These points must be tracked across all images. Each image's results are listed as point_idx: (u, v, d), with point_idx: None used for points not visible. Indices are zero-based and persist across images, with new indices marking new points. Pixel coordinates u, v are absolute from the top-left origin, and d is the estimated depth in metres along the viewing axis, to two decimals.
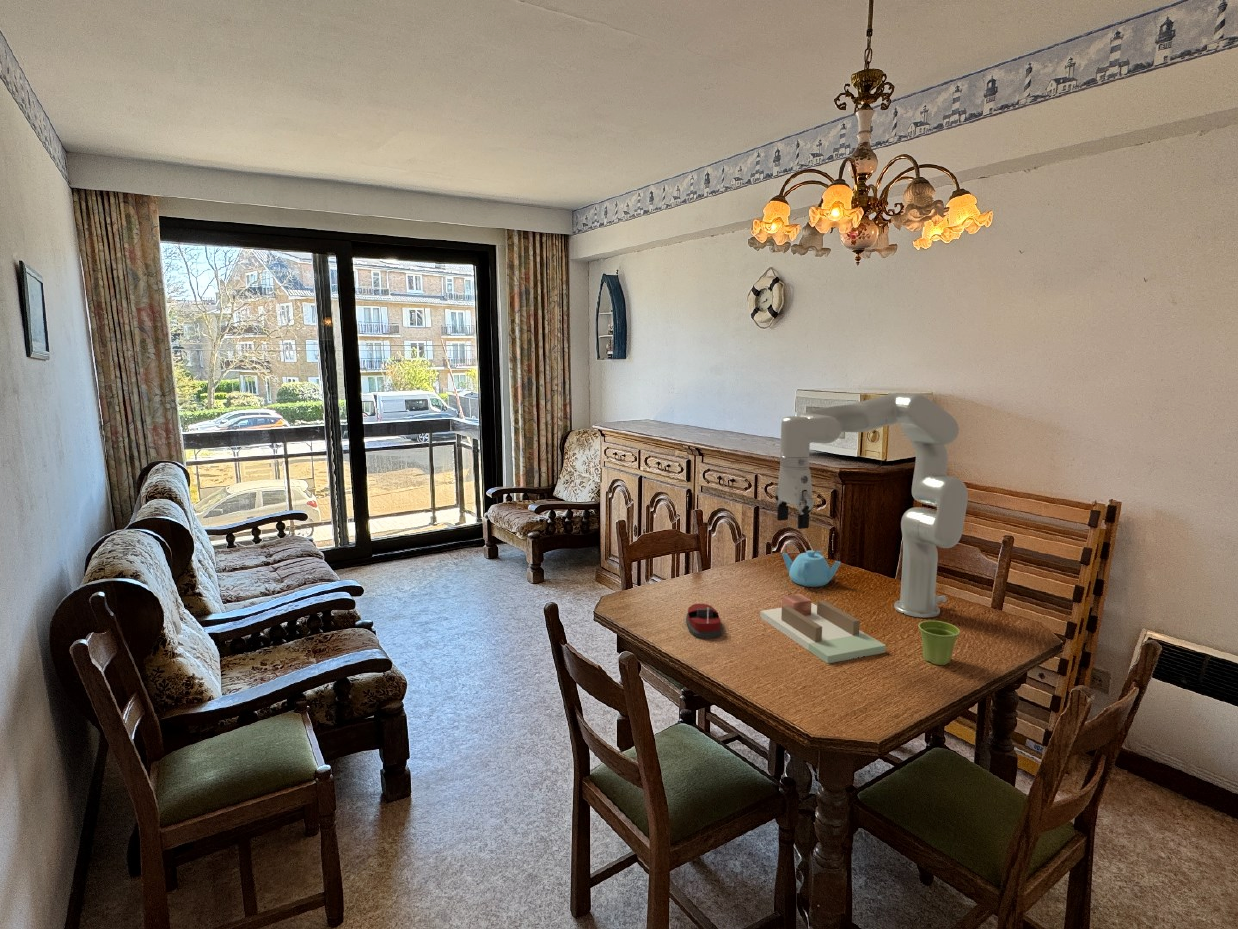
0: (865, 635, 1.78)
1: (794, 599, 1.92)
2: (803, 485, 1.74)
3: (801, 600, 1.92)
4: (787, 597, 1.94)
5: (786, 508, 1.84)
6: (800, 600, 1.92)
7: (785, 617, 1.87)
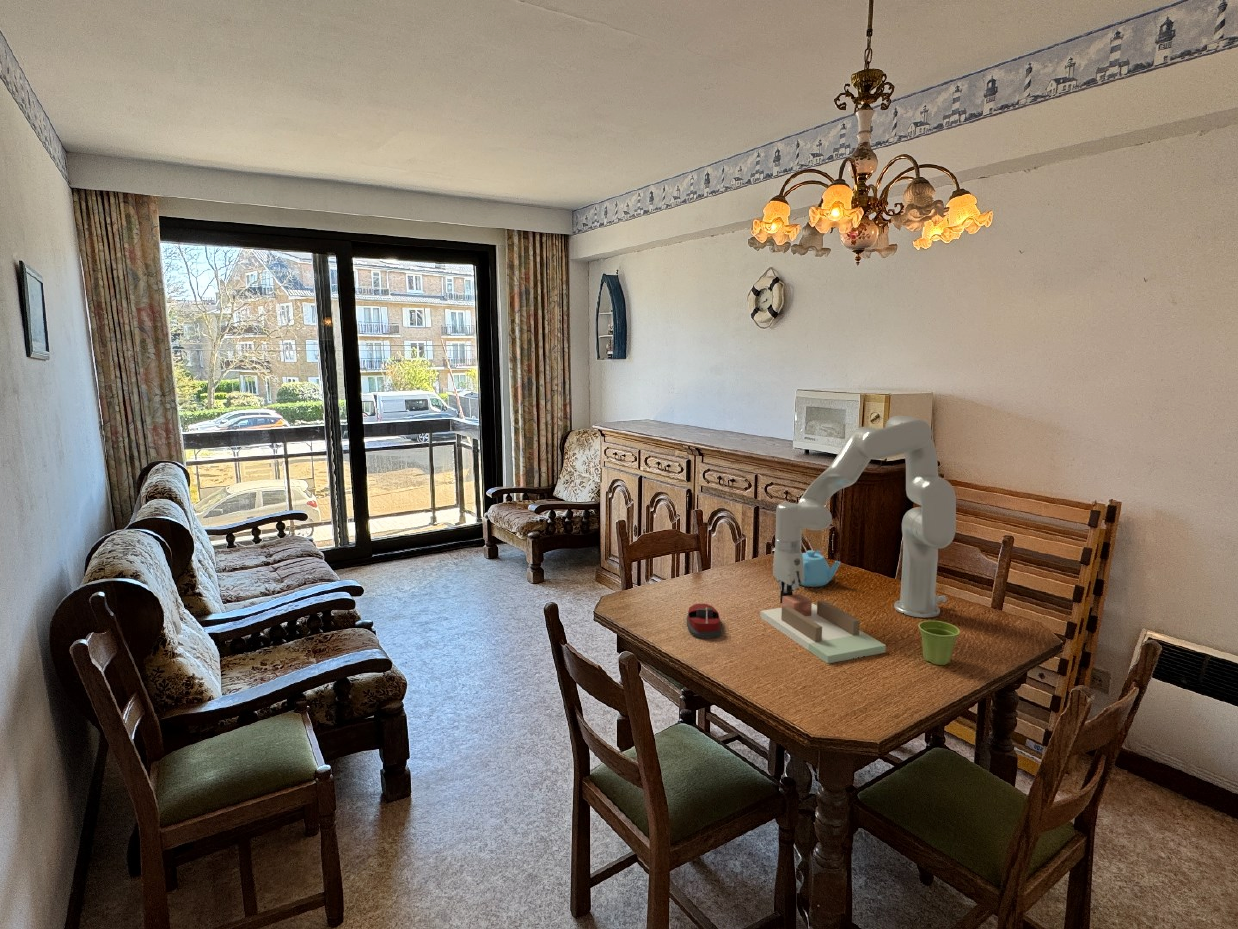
0: (865, 635, 1.78)
1: (794, 599, 1.92)
2: (796, 567, 1.92)
3: (801, 600, 1.91)
4: (787, 597, 1.93)
5: None
6: (800, 600, 1.91)
7: (785, 617, 1.87)
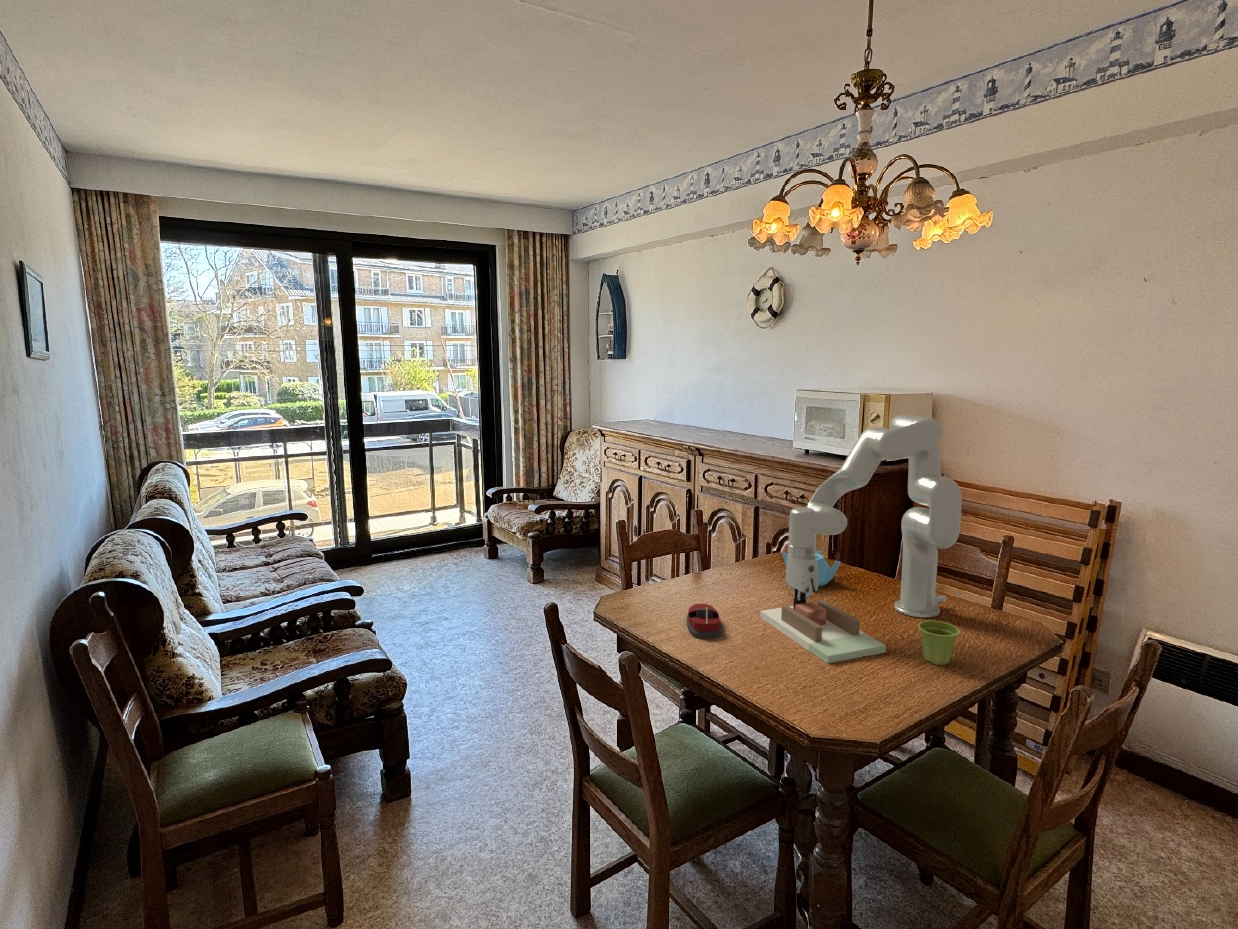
0: (865, 635, 1.78)
1: (808, 608, 1.85)
2: (810, 574, 1.85)
3: (815, 608, 1.85)
4: (800, 606, 1.87)
5: None
6: (814, 609, 1.85)
7: (785, 617, 1.87)
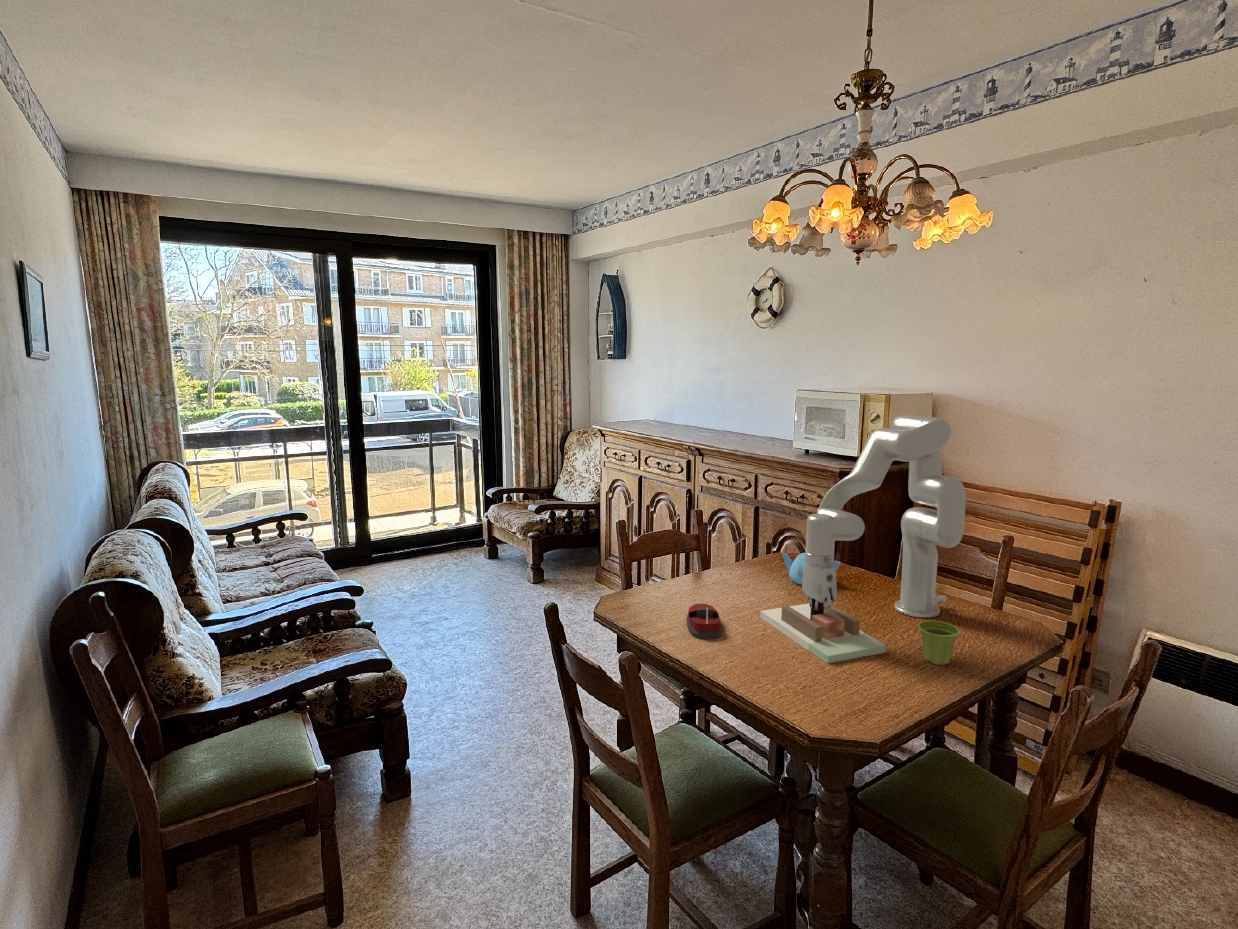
0: (865, 635, 1.78)
1: (825, 619, 1.77)
2: (828, 583, 1.77)
3: (833, 619, 1.77)
4: (817, 616, 1.79)
5: None
6: (831, 619, 1.77)
7: (785, 617, 1.87)
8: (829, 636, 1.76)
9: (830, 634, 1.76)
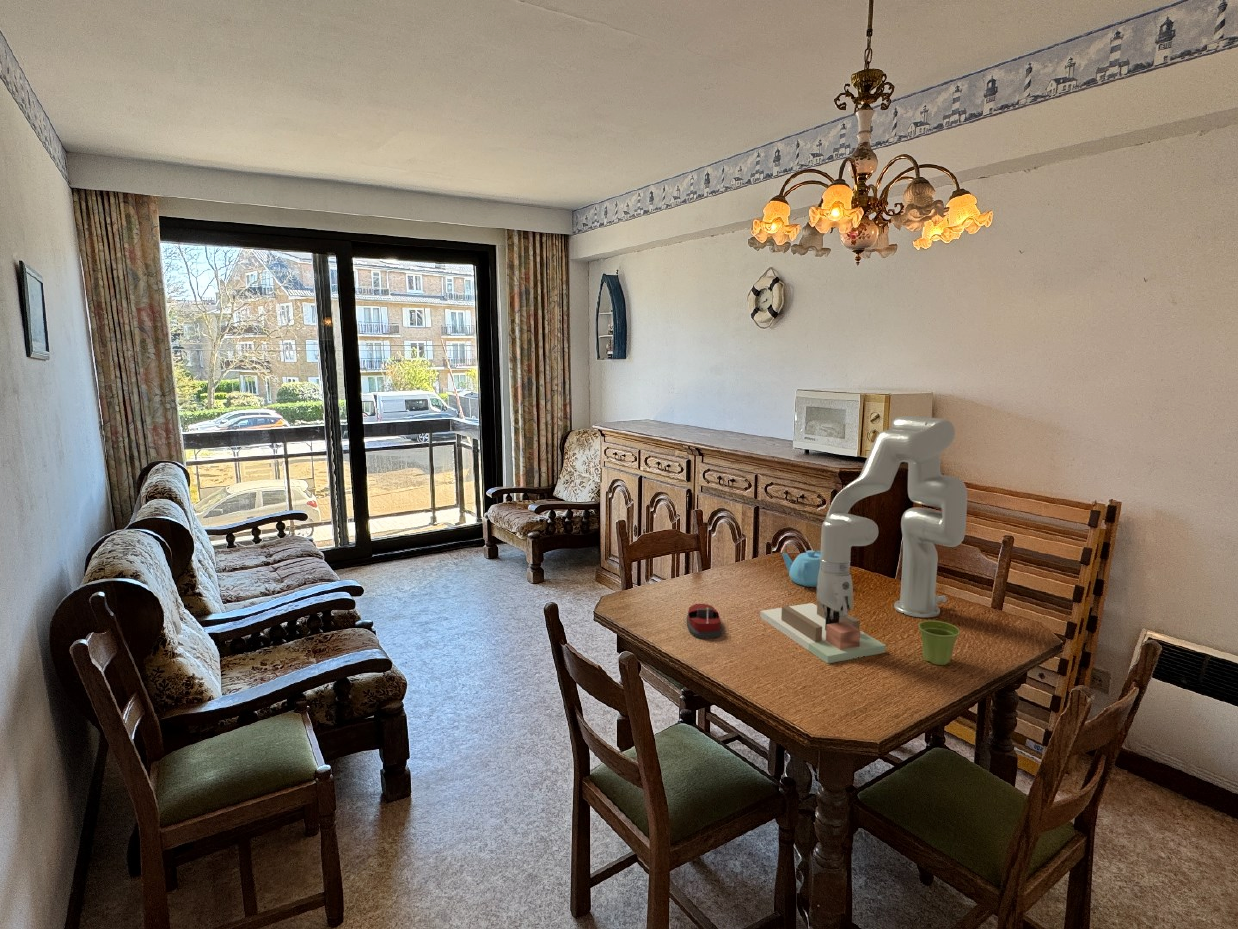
0: (865, 635, 1.78)
1: (840, 628, 1.71)
2: (844, 591, 1.71)
3: (848, 629, 1.71)
4: (832, 626, 1.73)
5: None
6: (847, 629, 1.71)
7: (785, 617, 1.87)
8: (844, 646, 1.69)
9: (845, 645, 1.69)
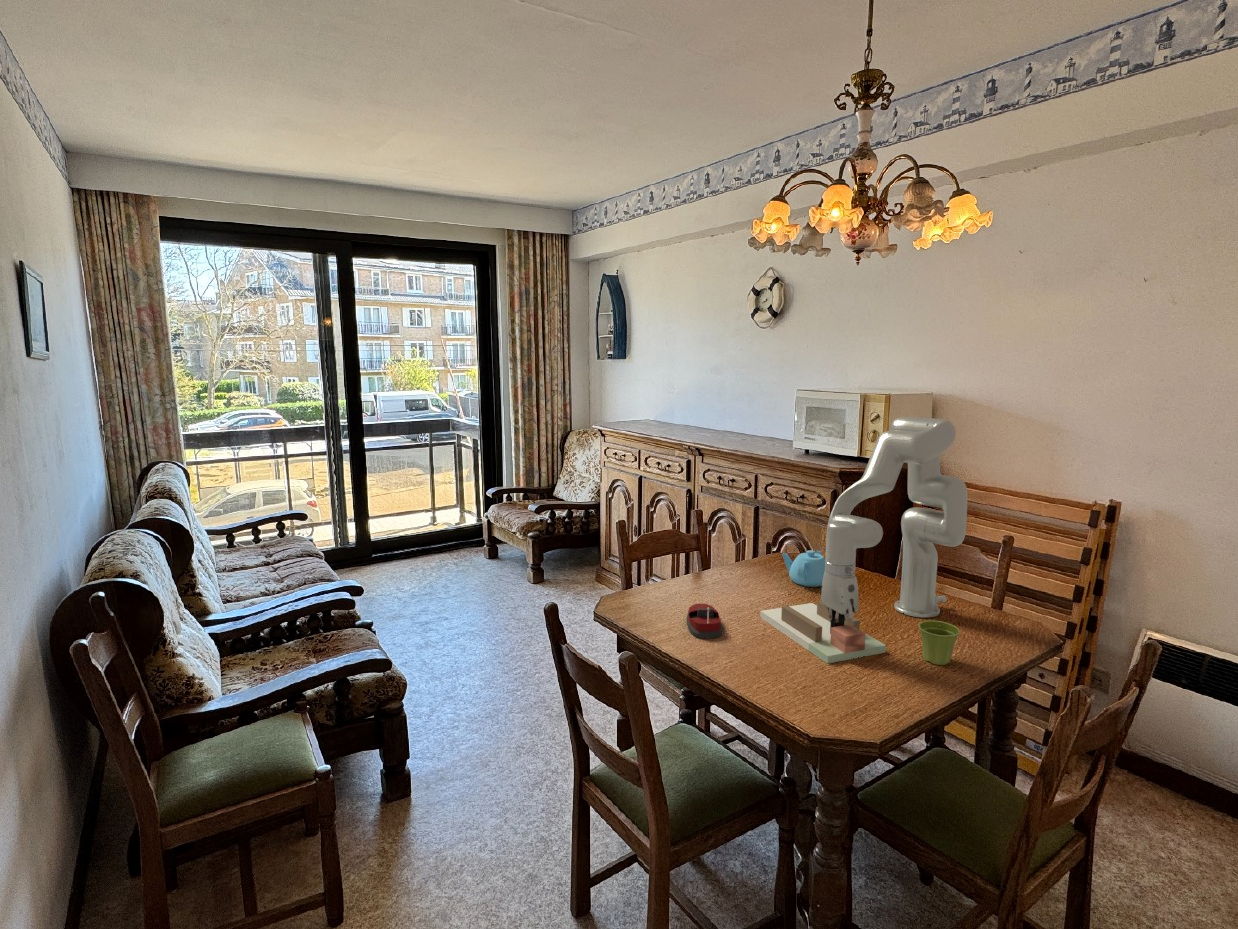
0: (865, 635, 1.78)
1: (845, 632, 1.69)
2: (850, 594, 1.69)
3: (853, 632, 1.69)
4: (837, 629, 1.71)
5: None
6: (852, 632, 1.69)
7: (785, 617, 1.87)
8: (849, 650, 1.67)
9: (849, 648, 1.67)
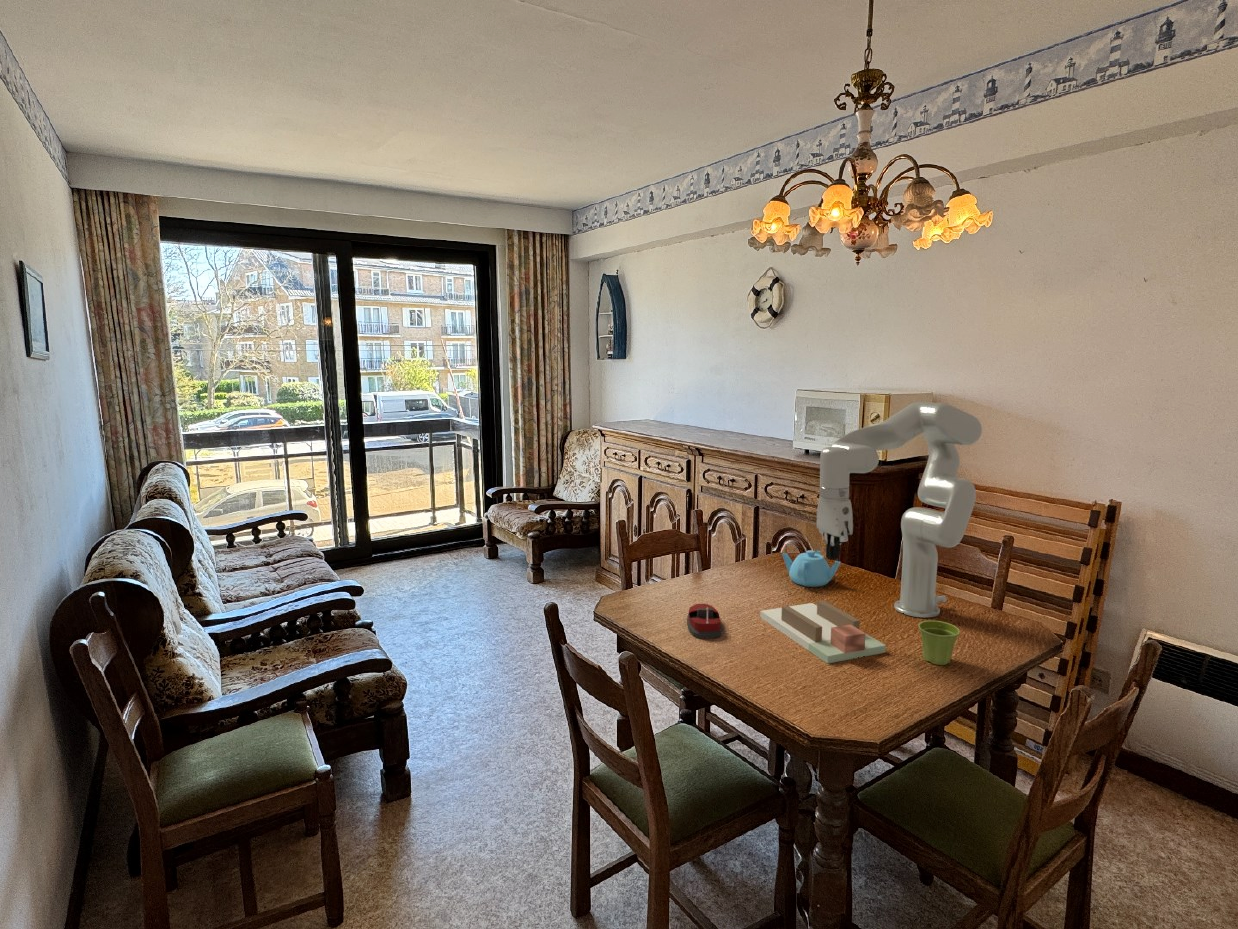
0: (865, 635, 1.78)
1: (845, 632, 1.69)
2: (844, 516, 1.74)
3: (853, 632, 1.69)
4: (837, 629, 1.71)
5: None
6: (852, 632, 1.69)
7: (785, 617, 1.87)
8: (849, 650, 1.67)
9: (849, 648, 1.67)
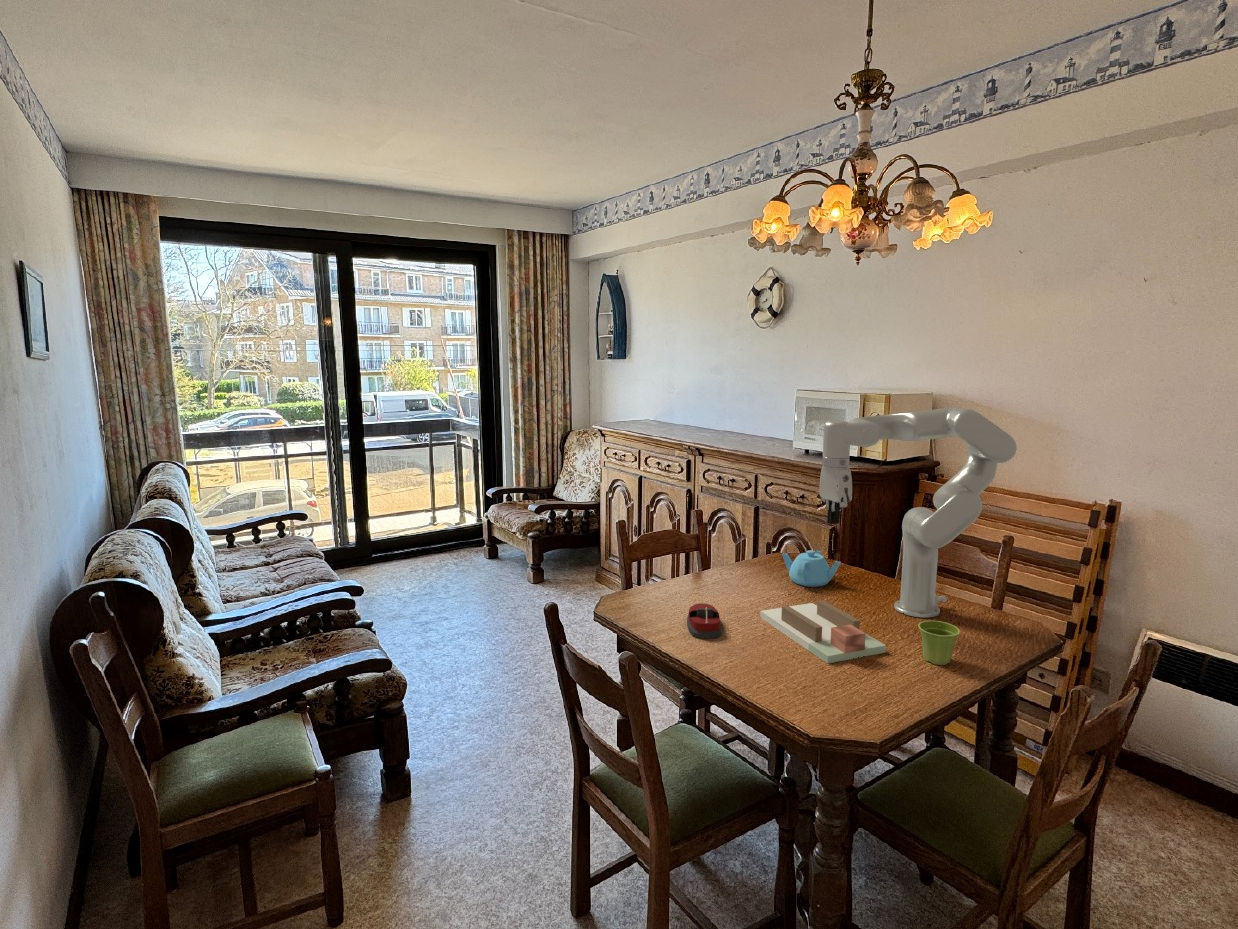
0: (865, 635, 1.78)
1: (845, 632, 1.69)
2: (844, 483, 1.90)
3: (853, 632, 1.69)
4: (837, 629, 1.71)
5: None
6: (852, 632, 1.69)
7: (785, 617, 1.87)
8: (849, 650, 1.67)
9: (849, 648, 1.67)
